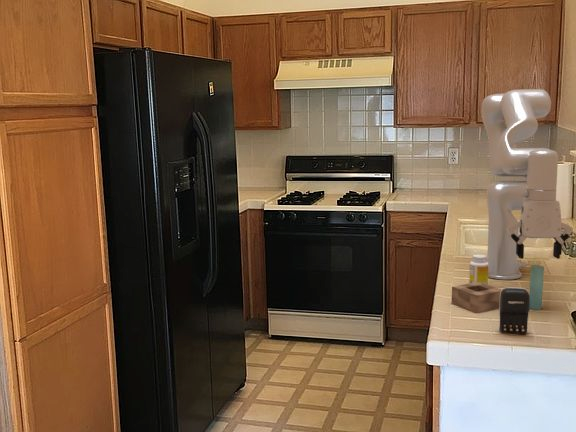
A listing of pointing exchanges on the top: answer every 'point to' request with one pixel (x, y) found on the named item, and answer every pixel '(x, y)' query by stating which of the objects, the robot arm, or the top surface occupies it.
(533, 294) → the dowel
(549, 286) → the top surface
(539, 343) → the top surface
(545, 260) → the top surface
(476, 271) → the supplement bottle
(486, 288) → the socket block
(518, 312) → the battery charger
